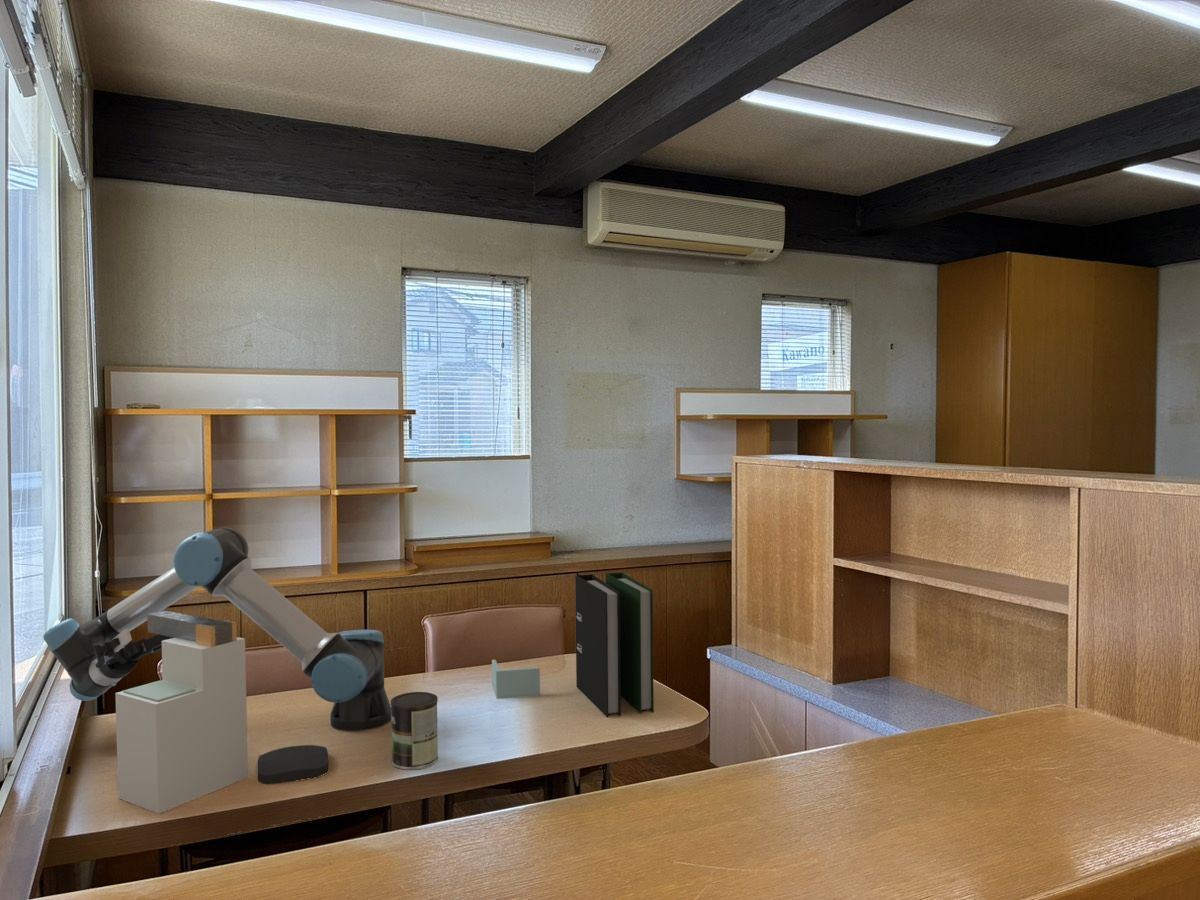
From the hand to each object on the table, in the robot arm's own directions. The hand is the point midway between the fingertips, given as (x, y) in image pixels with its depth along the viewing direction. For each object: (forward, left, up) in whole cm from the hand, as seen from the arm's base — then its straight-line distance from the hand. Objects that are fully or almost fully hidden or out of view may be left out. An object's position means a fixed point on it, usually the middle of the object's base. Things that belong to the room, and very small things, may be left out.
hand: (159, 627), depth 190 cm
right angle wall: (-72, -53, -31) cm, 95 cm away
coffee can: (-56, -2, -31) cm, 64 cm away
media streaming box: (-30, +2, -32) cm, 44 cm away
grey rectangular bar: (-9, +5, -1) cm, 10 cm away
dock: (-11, +11, -31) cm, 35 cm away
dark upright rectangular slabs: (-100, -45, -31) cm, 114 cm away
